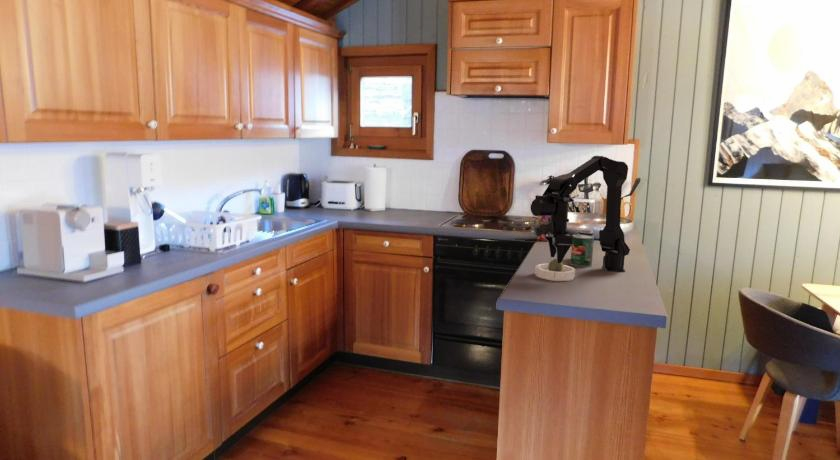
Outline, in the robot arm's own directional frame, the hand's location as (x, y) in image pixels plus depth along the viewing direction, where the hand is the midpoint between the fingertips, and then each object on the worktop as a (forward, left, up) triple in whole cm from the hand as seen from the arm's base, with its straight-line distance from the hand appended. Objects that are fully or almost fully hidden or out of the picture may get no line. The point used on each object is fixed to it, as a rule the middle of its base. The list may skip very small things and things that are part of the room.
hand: (555, 260), depth 198 cm
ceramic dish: (0, 0, -6) cm, 6 cm away
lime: (0, 0, -5) cm, 5 cm away
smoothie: (-13, -70, -6) cm, 72 cm away
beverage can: (-19, -30, -6) cm, 36 cm away
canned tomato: (-15, -20, -6) cm, 26 cm away
